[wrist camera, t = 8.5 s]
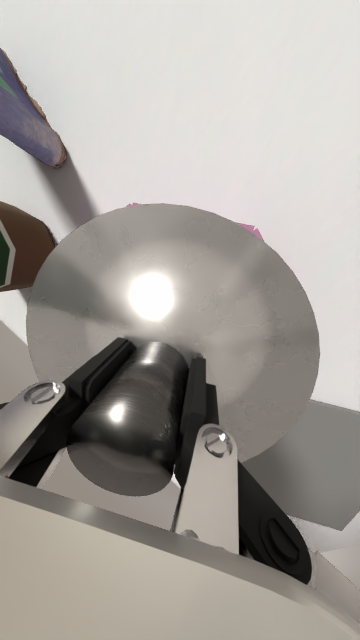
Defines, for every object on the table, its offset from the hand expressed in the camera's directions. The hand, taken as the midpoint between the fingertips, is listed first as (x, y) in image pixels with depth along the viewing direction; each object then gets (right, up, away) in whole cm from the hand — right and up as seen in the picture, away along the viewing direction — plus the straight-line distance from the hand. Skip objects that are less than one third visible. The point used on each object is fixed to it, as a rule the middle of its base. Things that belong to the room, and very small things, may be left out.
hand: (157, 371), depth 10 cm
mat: (+16, -15, +12) cm, 24 cm away
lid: (0, 0, +1) cm, 1 cm away
